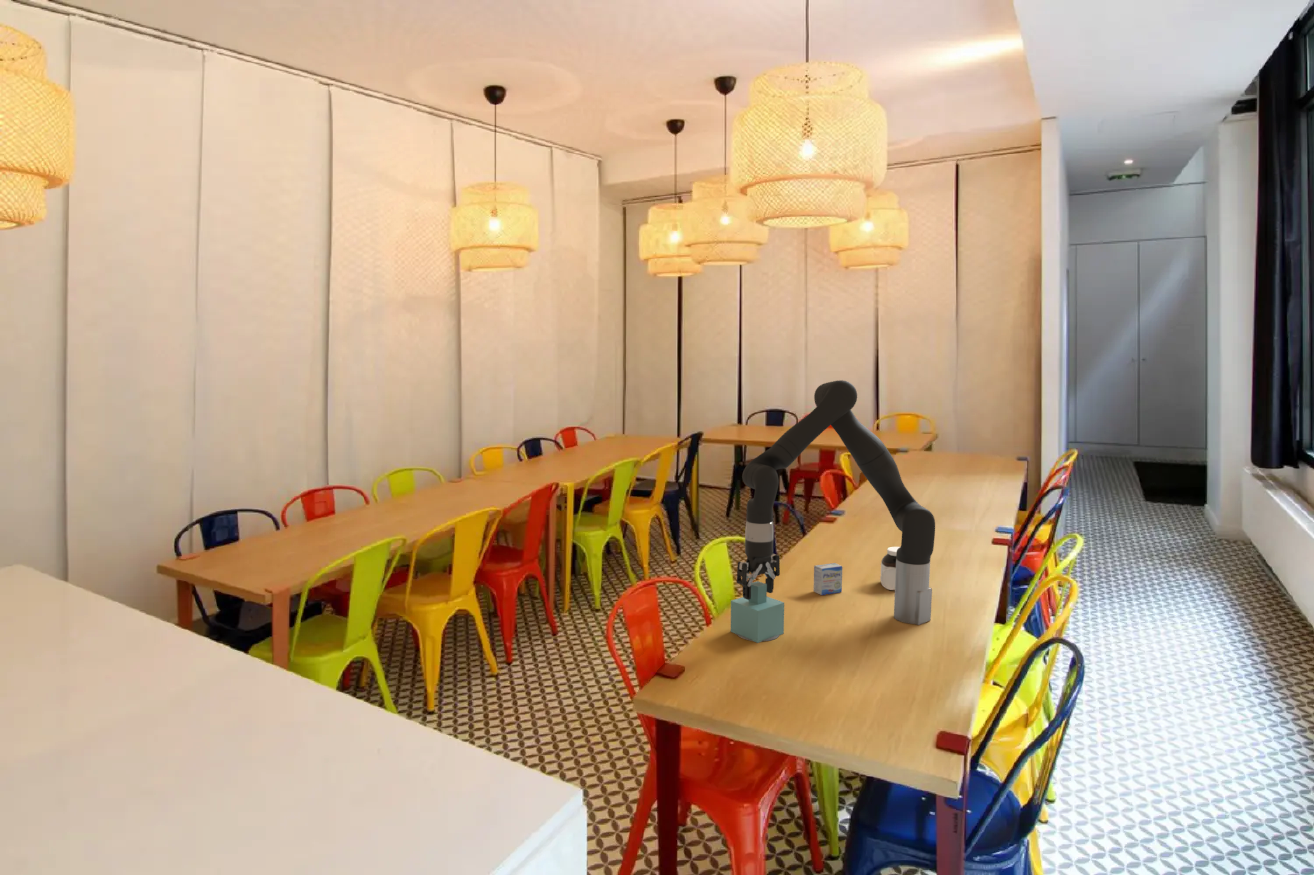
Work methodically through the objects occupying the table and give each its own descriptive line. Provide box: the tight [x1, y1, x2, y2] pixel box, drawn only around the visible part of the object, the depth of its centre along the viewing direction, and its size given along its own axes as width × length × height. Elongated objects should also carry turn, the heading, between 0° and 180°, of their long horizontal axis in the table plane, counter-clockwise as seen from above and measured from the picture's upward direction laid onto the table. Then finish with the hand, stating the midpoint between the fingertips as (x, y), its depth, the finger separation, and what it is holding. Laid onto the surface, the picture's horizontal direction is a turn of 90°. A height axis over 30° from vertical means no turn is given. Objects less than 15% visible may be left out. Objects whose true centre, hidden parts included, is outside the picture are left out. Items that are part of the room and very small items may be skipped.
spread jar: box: [879, 546, 901, 591], centre depth 253 cm, size 12×11×12 cm
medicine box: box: [813, 562, 843, 596], centre depth 247 cm, size 8×4×9 cm, turn 112°
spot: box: [735, 633, 781, 642], centre depth 214 cm, size 12×12×1 cm
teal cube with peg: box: [730, 580, 785, 644], centre depth 213 cm, size 10×10×14 cm
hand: (758, 595), depth 213 cm, fingers open, 8 cm apart
